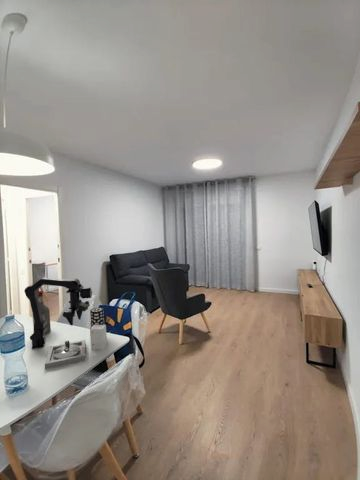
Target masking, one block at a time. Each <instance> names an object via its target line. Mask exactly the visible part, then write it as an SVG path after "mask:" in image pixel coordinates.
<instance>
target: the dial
mask: <svg viewBox="0 0 360 480" xmlns="http://www.w3.org/2000/svg"><path fill="white" fill-rule="evenodd" d="M70 343H71V342H70V340H65V341H64V344H65V346H62V347H60V348H58V349H56V350H55V351H54V353H53V357H54V358H55V359H57V360H58V359H63V358H68V357H73V356H76V355H77V354H78V353H79V352H80V347H79V346H78V345H74V344H71V345H70Z"/></svg>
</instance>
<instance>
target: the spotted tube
mask: <svg viewBox="0 0 360 480" xmlns="http://www.w3.org/2000/svg"><path fill="white" fill-rule="evenodd" d="M89 313H90V314H89V315H90V328H91V327H92V326H93V325H105V314H104V313H105V312H104V307H94V308H91V309H90V310H89Z"/></svg>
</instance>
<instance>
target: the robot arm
mask: <svg viewBox="0 0 360 480" xmlns="http://www.w3.org/2000/svg"><path fill="white" fill-rule="evenodd" d="M43 286H51V287H52V286H53V287H64V288H66V289H67V291H66V294H69V300H68V304H69V307H68V309H67V310H65V311H63V312H62V317H64V318H65V319H66V320H67V322H68V323H69V325H70V326H73V325H74V317H75V316H77V320H81V319H82V316H83V312H86V311H87V310H88V309H89V307H90V301H88V300H86V301H84V302H83V300H82V299H92V297H93V290H92V287H84V285H82V284H81V282H80V279H78V278H68V279H60V278H49V277H42V278H40V279H39V280H38V281H36V282H35V283H32V284H30V285H28V286H27V287H25V289H24V290H23V291H24V294H25V296H26V298H27V299H28V300H29V303H30V307H31V312H32V318H33V317H34V327H33V333H32V334H31V335H30V336H29V339H30V341H31V350H36V349H41V348H44V347H45V345H46V337H45V335H43V334H44V332H45V331H46V330H47V327H48V324H47V320H46V321H44V320H43V318H42V313H41V309H40V304H39V300H38V296H39V291H40V288H41V287H43ZM75 314H76V315H75Z"/></svg>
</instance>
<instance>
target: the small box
mask: <svg viewBox="0 0 360 480" xmlns="http://www.w3.org/2000/svg"><path fill="white" fill-rule="evenodd" d="M89 337H90V338H89V339H90V350H92V351H93V350H104V349H106V347H107V345H108V337H107V325H106V324H104V325H93V326H92V327H91V326H90V329H89Z"/></svg>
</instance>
